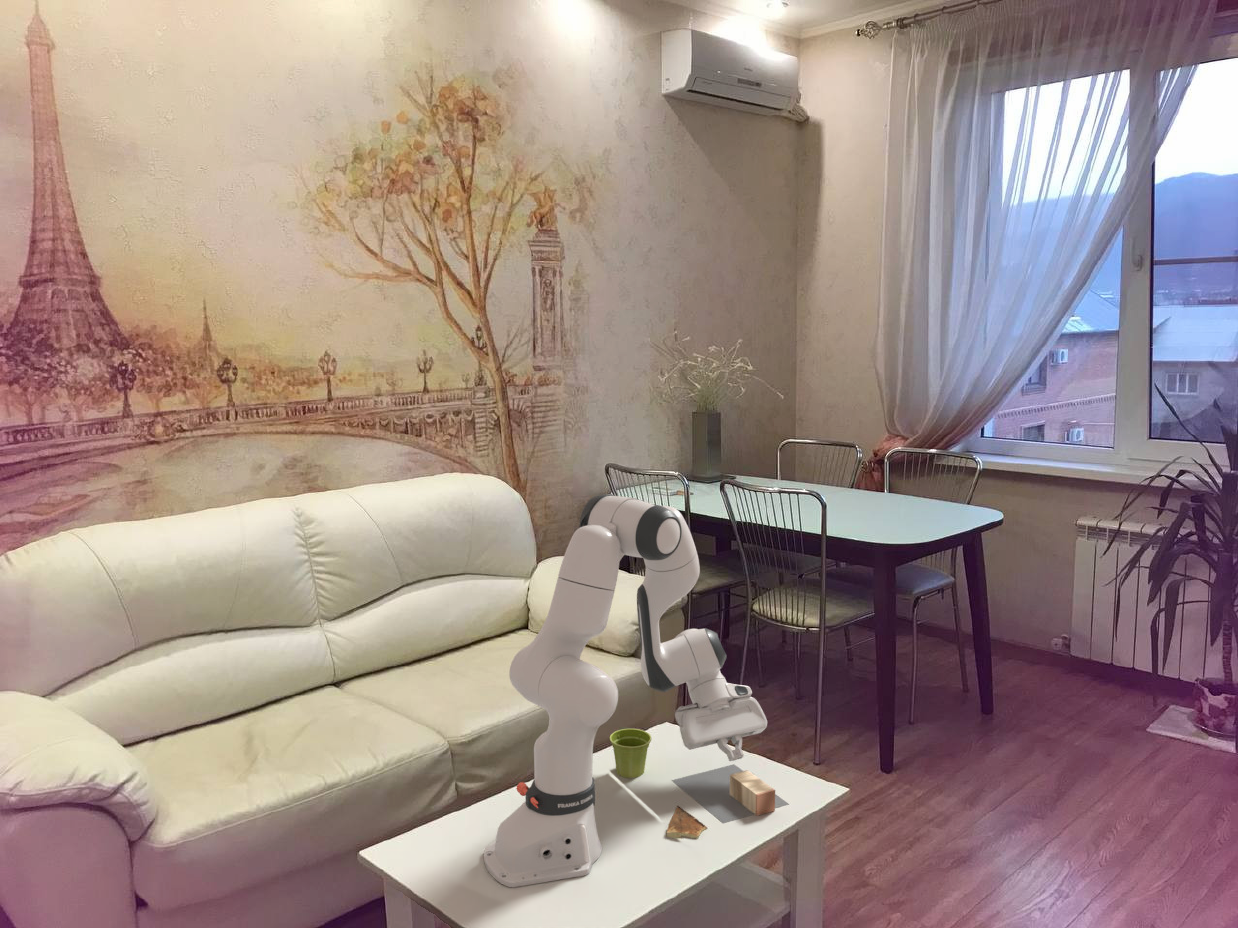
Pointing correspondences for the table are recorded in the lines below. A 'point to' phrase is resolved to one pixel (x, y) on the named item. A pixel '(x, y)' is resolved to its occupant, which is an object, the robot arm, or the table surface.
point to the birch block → (752, 792)
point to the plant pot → (630, 751)
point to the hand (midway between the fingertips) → (736, 758)
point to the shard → (684, 825)
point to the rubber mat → (718, 793)
